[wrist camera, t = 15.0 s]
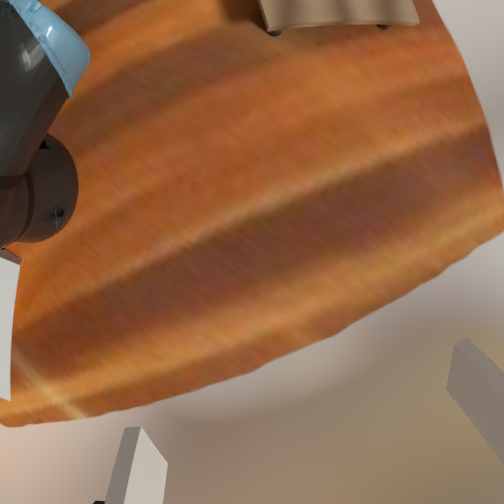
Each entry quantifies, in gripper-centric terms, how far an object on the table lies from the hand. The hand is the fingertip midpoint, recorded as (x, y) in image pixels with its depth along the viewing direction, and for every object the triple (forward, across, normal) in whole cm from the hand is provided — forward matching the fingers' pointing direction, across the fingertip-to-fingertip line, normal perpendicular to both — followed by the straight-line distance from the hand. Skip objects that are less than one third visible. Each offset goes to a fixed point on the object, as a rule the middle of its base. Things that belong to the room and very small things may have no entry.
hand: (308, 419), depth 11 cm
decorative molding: (+32, -50, -5) cm, 60 cm away
